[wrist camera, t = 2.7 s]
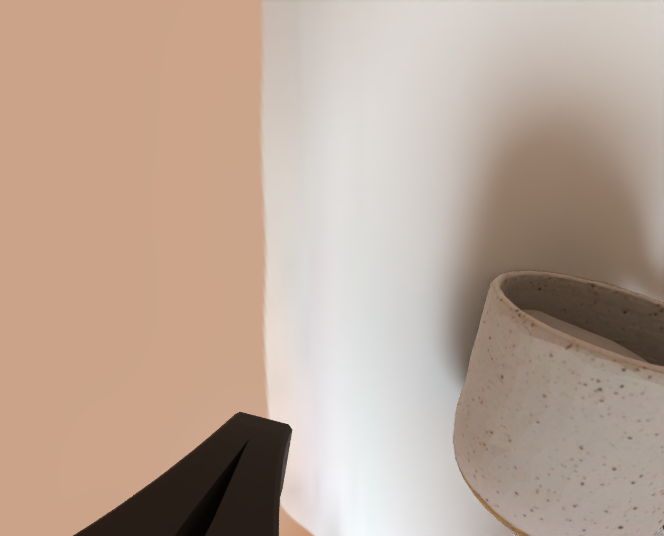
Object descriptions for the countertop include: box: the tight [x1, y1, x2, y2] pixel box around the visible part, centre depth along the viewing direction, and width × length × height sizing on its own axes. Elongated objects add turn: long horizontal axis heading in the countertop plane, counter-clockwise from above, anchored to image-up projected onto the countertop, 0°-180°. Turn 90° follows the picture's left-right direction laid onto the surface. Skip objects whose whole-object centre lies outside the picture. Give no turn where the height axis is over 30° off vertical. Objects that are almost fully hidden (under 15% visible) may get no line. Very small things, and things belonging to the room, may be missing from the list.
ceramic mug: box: [453, 270, 664, 536], centre depth 14 cm, size 11×8×8 cm
